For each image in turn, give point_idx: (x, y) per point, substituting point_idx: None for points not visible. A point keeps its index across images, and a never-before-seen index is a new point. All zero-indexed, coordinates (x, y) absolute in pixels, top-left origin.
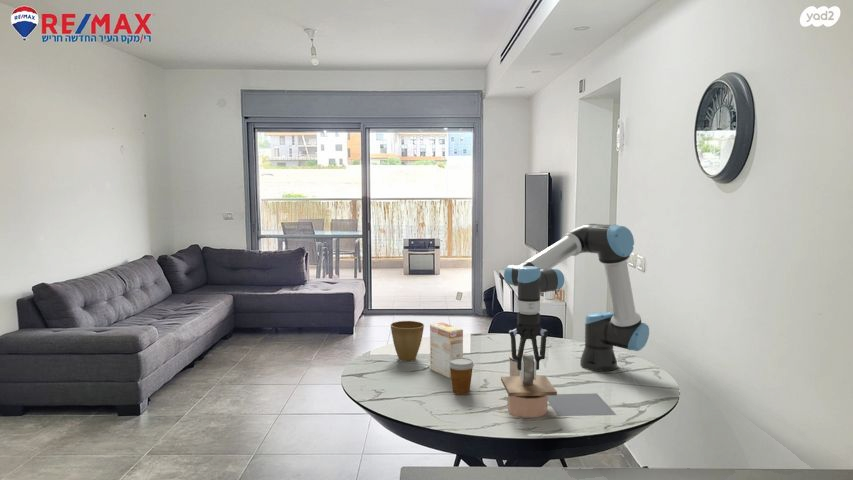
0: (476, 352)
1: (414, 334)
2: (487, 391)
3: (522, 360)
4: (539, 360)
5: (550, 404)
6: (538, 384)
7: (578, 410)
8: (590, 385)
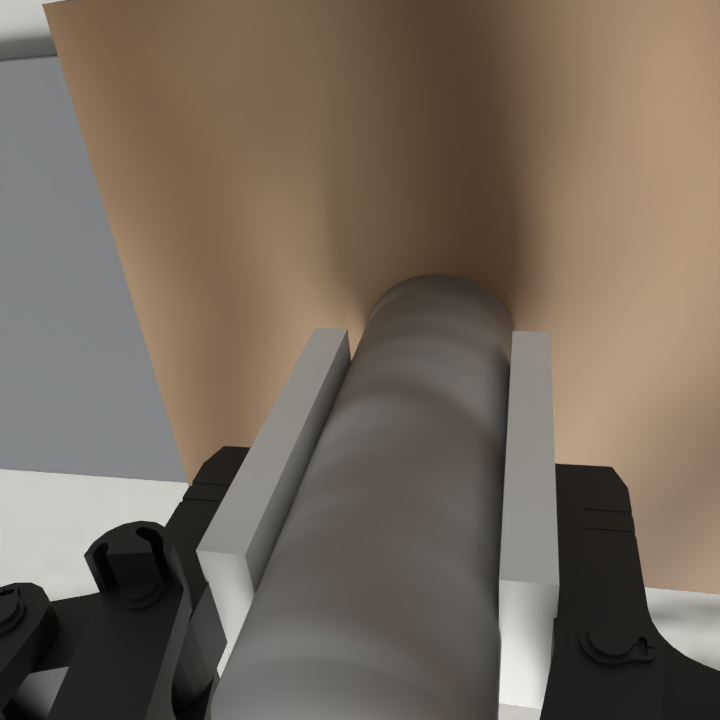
0: None
1: None
2: (714, 604)
3: (510, 656)
4: (108, 551)
5: None
6: (298, 311)
7: (29, 178)
8: (8, 580)
